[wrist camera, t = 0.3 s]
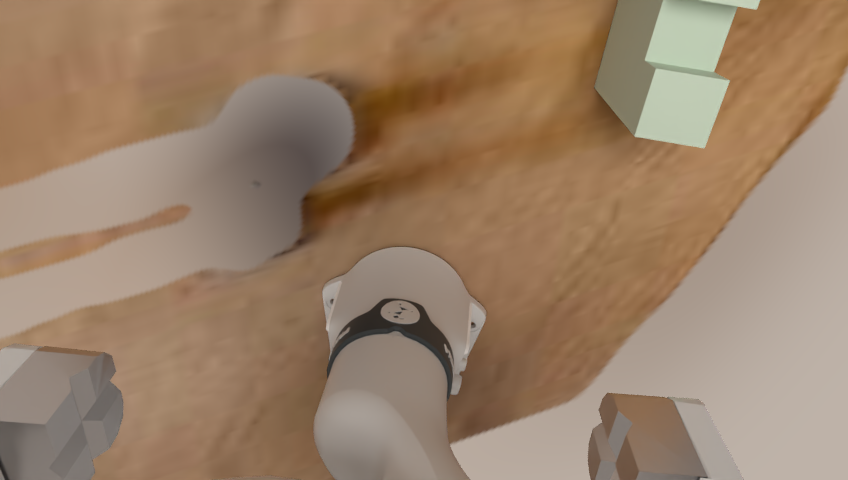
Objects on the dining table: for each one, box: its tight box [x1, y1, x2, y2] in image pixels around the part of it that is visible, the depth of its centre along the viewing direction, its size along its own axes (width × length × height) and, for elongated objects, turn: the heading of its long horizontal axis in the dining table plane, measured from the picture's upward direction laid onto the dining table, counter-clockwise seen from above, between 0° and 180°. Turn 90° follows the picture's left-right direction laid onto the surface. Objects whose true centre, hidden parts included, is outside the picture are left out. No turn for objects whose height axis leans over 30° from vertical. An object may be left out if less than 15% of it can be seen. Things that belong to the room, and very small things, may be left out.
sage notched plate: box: [594, 0, 760, 148], centre depth 46 cm, size 14×5×16 cm, turn 172°
